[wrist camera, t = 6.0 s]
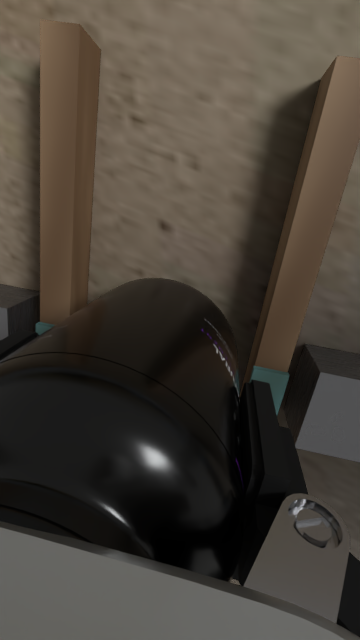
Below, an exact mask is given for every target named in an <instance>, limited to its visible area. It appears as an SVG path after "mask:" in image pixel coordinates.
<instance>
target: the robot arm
mask: <svg viewBox="0 0 360 640" xmlns="http://www.w3.org/2000/svg"><path fill="white" fill-rule="evenodd" d="M38 336H39V334H38V333H36V332H31V331H27V330H22V329H20V330H18V331H16V332H14V333H13V334H11V335H9V336H7V337H6V338H4V339H2V340H0V360H2V359H3V358H5V357H6V356H8V355H9V354H11V353H13V352H14V351H16V350H17V349H19V348H20V347H22V346H23V345H25V344H27V343H28V342H30V341H31V340H33V339H34V338H36V337H38ZM240 416H241V442H242V467H243V492H244V532H243V543H242V549H241V553H240V557H239V561H238V565H237V567H236V570H235V572H234V575H233V577H232V579H236V580H239V583H240V584H241V586H240V585H236V584H233V583H229V582H226V581H223V580H219V579H216V578H213V577H209V576H206V575H203V574H199V573H196V572H192V571H189V570H186V569H182V568H179V567H175V566H171V565H168V564H164V563H161V562H157V561H153V560H150V559H146V558H143V557H139V556H135V555H132V554H128V553H125V552H121V551H117V550H114V549H110V548H107V547H103V546H99V545H96V544H92V543H88V542H85V541H81V540H78V539H74V538H70V537H66V536H61V535H56V534H52V533H47V532H43V531H38V530H34V529H30V528H26V527H22V526H18V525H14V524H10V523H6V522H2V521H0V640H360V561H359V560H358V559H356V558H355V557H354V556H353V555H352V554H351V553H350V552H349V550H350V545H351V543H350V533H349V531H348V528H347V525H346V524H345V522H344V521H343V519H342V518H341V516H340V515H339V514H338V513H337V512H336V511H335V510H334V509H333V508H332V507H331V506H329V505H328V504H326V503H325V502H324V501H322V500H320V499H318V498H316V497H314V496H311V495H308V492H307V488H306V485H305V481H304V477H303V473H302V470H301V466H300V462H299V458H298V455H297V451H296V447H295V444H294V440H293V436H292V433H291V430H290V429H289V428H284V427H280V426H279V424H278V419H277V415H276V410H275V406H274V401H273V397H272V392H271V388H270V384H269V383H267V382H262V381H258V380H253V379H252V380H251V382H250V383H246V382H245V383H244V386H243V389H242V393H241V397H240Z"/></svg>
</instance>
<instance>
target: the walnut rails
mask: <svg viewBox="0 0 360 640" xmlns="http://www.w3.org/2000/svg"><path fill="white" fill-rule="evenodd" d="M100 56H101V49H100V48H99V47H98V46H97V45H96V43H95V42H94V41H93V40H92V38H91V37H90V36H89V35H88V34H87V32H86V31H85V30H84V29H83V27H82V26H81V25H80V24H74V23H66V22H58V21H49V20H41V19H40V322H38V323H36V333H38V334H39V335H41V334H42V333H44V332H45V331H47V330H49V329H50V328H52V327H53V326H55V325H56V324H58V323H60V322H61V321H63V320H64V319H66V318H67V317H69V316H71V315H72V314H74V313H75V312H77V311H78V310H80V309H82V308H83V307H85V306H86V305H87V294H88V276H89V258H90V239H91V221H92V203H93V184H94V166H95V148H96V129H97V111H98V93H99V74H100ZM359 140H360V58H353V57H344V56H337V57H336V58H335V60H334V61H333V62H332V64H331V65H330V67H329V68H328V69H327V71H326V72H325V74H324V75H323V76H322V78H321V81H320V85H319V89H318V93H317V97H316V100H315V104H314V108H313V112H312V116H311V120H310V124H309V128H308V132H307V135H306V139H305V143H304V147H303V151H302V155H301V159H300V163H299V167H298V170H297V174H296V178H295V182H294V186H293V190H292V194H291V198H290V202H289V205H288V209H287V213H286V217H285V221H284V225H283V229H282V233H281V236H280V240H279V244H278V248H277V252H276V256H275V260H274V264H273V268H272V271H271V275H270V279H269V283H268V287H267V291H266V295H265V299H264V303H263V306H262V310H261V314H260V318H259V322H258V326H257V330H256V334H255V338H254V341H253V345H252V349H251V353H250V357H249V361H248V365H247V369H246V373H245V376H244V380H243V384H242V388H241V392H240V397H241V393H242V389H243V386H244V383H245V382H246V383H250V382H251V380H252V379H253V380H258V381H262V382H267V383H269V384H270V388H271V392H272V397H273V401H274V406H275V410H276V415H278V411H279V408H280V405H281V402H282V399H283V395H284V392H285V389H286V386H287V383H288V380H289V373H287V372H288V369H289V366H290V362H291V359H292V356H293V353H294V349H295V346H296V343H297V340H298V337H299V333H300V330H301V327H302V324H303V320H304V317H305V314H306V311H307V307H308V304H309V301H310V298H311V295H312V291H313V288H314V285H315V282H316V278H317V275H318V272H319V269H320V266H321V262H322V259H323V256H324V253H325V249H326V246H327V243H328V240H329V236H330V233H331V230H332V227H333V224H334V220H335V217H336V214H337V211H338V207H339V204H340V201H341V198H342V194H343V191H344V188H345V185H346V182H347V178H348V175H349V172H350V169H351V165H352V162H353V159H354V156H355V152H356V149H357V146H358V143H359Z"/></svg>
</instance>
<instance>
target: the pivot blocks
mask: <svg viewBox="0 0 360 640" xmlns="http://www.w3.org/2000/svg"><path fill="white" fill-rule="evenodd" d="M38 322H40V292H39V291H33V290H28V289H23V288H18V287H13V286H8V285H3V284H0V340H2V339H4V338H6V337H7V336H9V335H11V334H13V333H14V332H16V331H18V330H20V329H22V330H27V331H31V332H36V323H38ZM284 412H285V416H286V419H287V423H288V427H289V429H290V430H291V433H292V436H293V440H294V444H295V447H296V448H297V449H302V450H306V451H311V452H315V453H320V454H324V455H329V456H333V457H338V458H342V459H347V460H351V461H356V462H360V354H355V353H350V352H344V351H339V350H334V349H329V348H324V347H319V346H314V345H309V344H305V345H304V348H303V351H302V354H301V357H300V361H299V364H298V367H297V370H296V373H295V376H294V379H293V382H292V386H291V389H290V392H289V395H288V398H287V401H286V404H285V407H284Z"/></svg>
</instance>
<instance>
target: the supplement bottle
mask: <svg viewBox="0 0 360 640" xmlns="http://www.w3.org/2000/svg"><path fill="white" fill-rule="evenodd" d="M0 521H2V522H6V523H10V524H14V525H18V526H22V527H26V528H30V529H34V530H38V531H43V532H47V533H52V534H56V535H61V536H66V537H70V538H74V539H78V540H81V541H85V542H88V543H92V544H96V545H99V546H103V547H107V548H110V549H114V550H117V551H121V552H125V553H128V554H132V555H135V556H139V557H143V558H146V559H150V560H153V561H157V562H161V563H164V564H168V565H171V566H175V567H179V568H182V569H186V570H189V571H192V572H196V573H199V574H203V575H206V576H209V577H213V578H216V579H219V580H223V581H226V582H229V583H230V582H231V580H232V577H233V575H234V572H235V570H236V567H237V565H238V561H239V557H240V553H241V549H242V543H243V532H244V492H243V467H242V442H241V416H240V391H239V366H238V352H237V346H236V341H235V338H234V334H233V332H232V329H231V327H230V325H229V323H228V321H227V319H226V318H225V316H224V314H223V313H222V312H221V310H220V309H219V308H218V307H217V306H216V305H215V304H214V303H213V302H212V301H211V300H210V299H209V298H208V297H207V296H205V295H204V294H202V293H201V292H200V291H198V290H196V289H194V288H193V287H190V286H188V285H186V284H183V283H181V282H178V281H174V280H169V279H163V278H144V279H138V280H134V281H130V282H127V283H125V284H122V285H120V286H118V287H116V288H114V289H112V290H110V291H109V292H107V293H105V294H104V295H102V296H100V297H99V298H97V299H96V300H94V301H93V302H91V303H89V304H88V305H86V306H85V307H83V308H82V309H80V310H78V311H77V312H75V313H74V314H72V315H71V316H69V317H67V318H66V319H64V320H63V321H61V322H60V323H58V324H56V325H55V326H53V327H52V328H50V329H49V330H47V331H45V332H44V333H42V334H41V335H39V336H38V337H36V338H34V339H33V340H31V341H30V342H28V343H27V344H25V345H23V346H22V347H20V348H19V349H17V350H16V351H14V352H13V353H11V354H9V355H8V356H6V357H5V358H3V359H2V360H0Z"/></svg>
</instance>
